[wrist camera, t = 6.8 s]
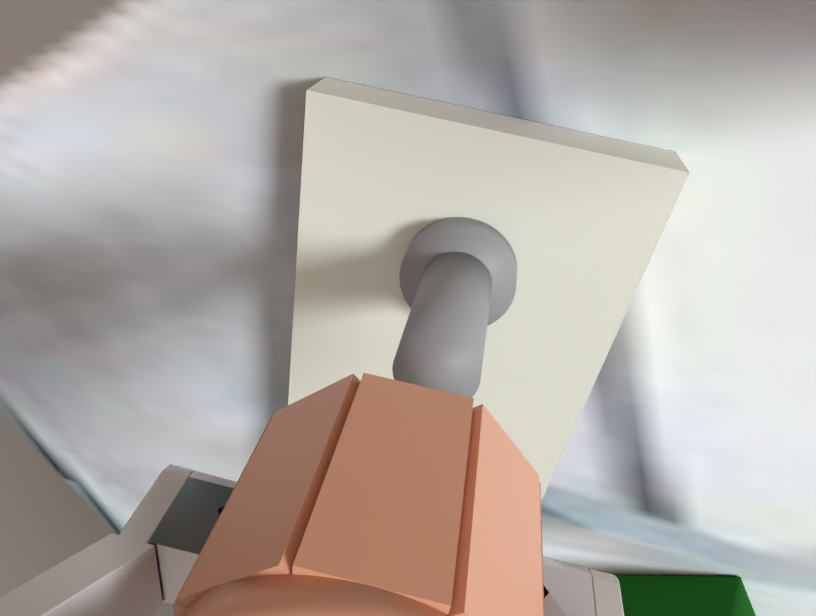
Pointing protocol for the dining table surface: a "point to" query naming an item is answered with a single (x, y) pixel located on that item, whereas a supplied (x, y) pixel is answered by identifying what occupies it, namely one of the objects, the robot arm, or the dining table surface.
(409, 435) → the cap
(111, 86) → the dining table surface
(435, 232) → the post board
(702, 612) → the milk carton
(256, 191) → the dining table surface
